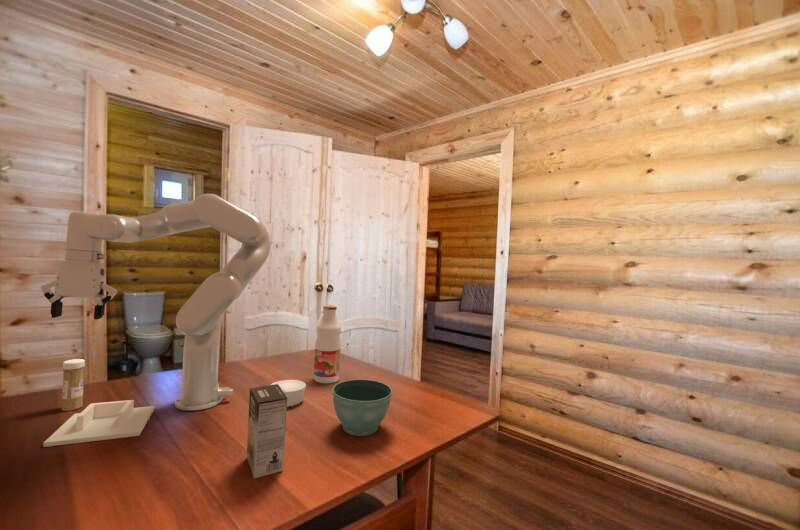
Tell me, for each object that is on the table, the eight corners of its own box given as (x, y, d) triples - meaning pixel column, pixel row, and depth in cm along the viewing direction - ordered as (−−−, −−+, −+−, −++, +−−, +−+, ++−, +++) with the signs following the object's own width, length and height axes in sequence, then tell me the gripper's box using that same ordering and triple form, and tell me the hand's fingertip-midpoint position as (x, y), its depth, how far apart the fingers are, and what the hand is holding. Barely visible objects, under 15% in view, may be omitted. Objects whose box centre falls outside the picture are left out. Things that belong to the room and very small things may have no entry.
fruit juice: (344, 380, 136) (347, 306, 135) (324, 386, 128) (328, 308, 128) (327, 374, 142) (331, 303, 141) (308, 379, 134) (312, 305, 134)
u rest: (154, 409, 103) (155, 393, 103) (139, 435, 88) (140, 417, 88) (74, 417, 96) (75, 400, 95) (43, 447, 81) (44, 427, 81)
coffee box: (245, 457, 81) (248, 387, 81) (274, 450, 84) (277, 383, 84) (253, 479, 73) (257, 401, 73) (285, 471, 77) (288, 396, 76)
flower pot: (398, 422, 103) (400, 384, 103) (376, 449, 88) (378, 405, 87) (347, 411, 108) (349, 375, 108) (318, 435, 93) (321, 393, 93)
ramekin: (260, 404, 110) (260, 387, 110) (284, 392, 120) (285, 377, 120) (289, 412, 106) (290, 394, 106) (312, 399, 116) (312, 383, 116)
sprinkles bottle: (81, 409, 100) (83, 361, 100) (59, 412, 98) (61, 363, 97) (84, 403, 104) (86, 357, 104) (63, 406, 101) (65, 359, 101)
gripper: (125, 259, 106) (120, 317, 106) (54, 253, 101) (48, 314, 101) (112, 259, 99) (107, 321, 99) (35, 253, 94) (29, 318, 94)
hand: (77, 317), depth 100 cm, fingers open, 9 cm apart
